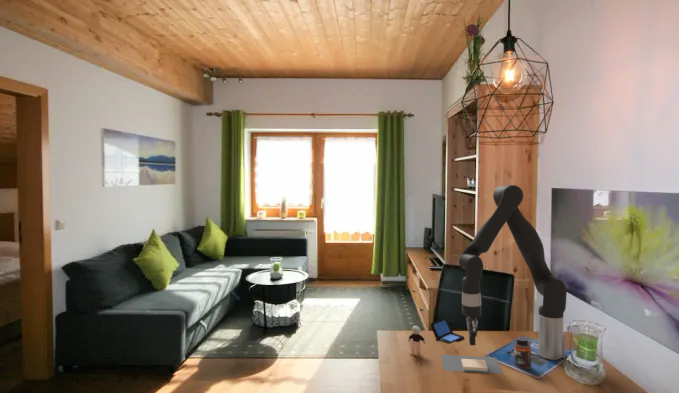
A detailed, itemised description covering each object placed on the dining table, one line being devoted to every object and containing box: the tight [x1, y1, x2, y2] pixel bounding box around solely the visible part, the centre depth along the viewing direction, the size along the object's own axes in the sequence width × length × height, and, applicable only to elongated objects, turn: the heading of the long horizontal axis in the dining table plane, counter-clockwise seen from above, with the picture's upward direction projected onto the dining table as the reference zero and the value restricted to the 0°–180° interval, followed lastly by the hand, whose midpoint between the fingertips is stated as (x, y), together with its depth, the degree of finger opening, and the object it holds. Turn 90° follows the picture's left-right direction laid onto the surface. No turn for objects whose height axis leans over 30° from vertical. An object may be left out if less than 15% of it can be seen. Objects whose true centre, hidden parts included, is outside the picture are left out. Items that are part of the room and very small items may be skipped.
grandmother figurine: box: [407, 325, 426, 358], centre depth 176 cm, size 8×4×13 cm, turn 73°
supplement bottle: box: [513, 336, 532, 370], centre depth 164 cm, size 6×6×11 cm
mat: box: [440, 354, 504, 375], centre depth 166 cm, size 22×14×1 cm, turn 80°
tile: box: [461, 359, 488, 372], centre depth 163 cm, size 9×2×7 cm
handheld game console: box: [430, 317, 465, 345], centre depth 193 cm, size 12×11×7 cm
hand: (472, 344), depth 170 cm, fingers closed
